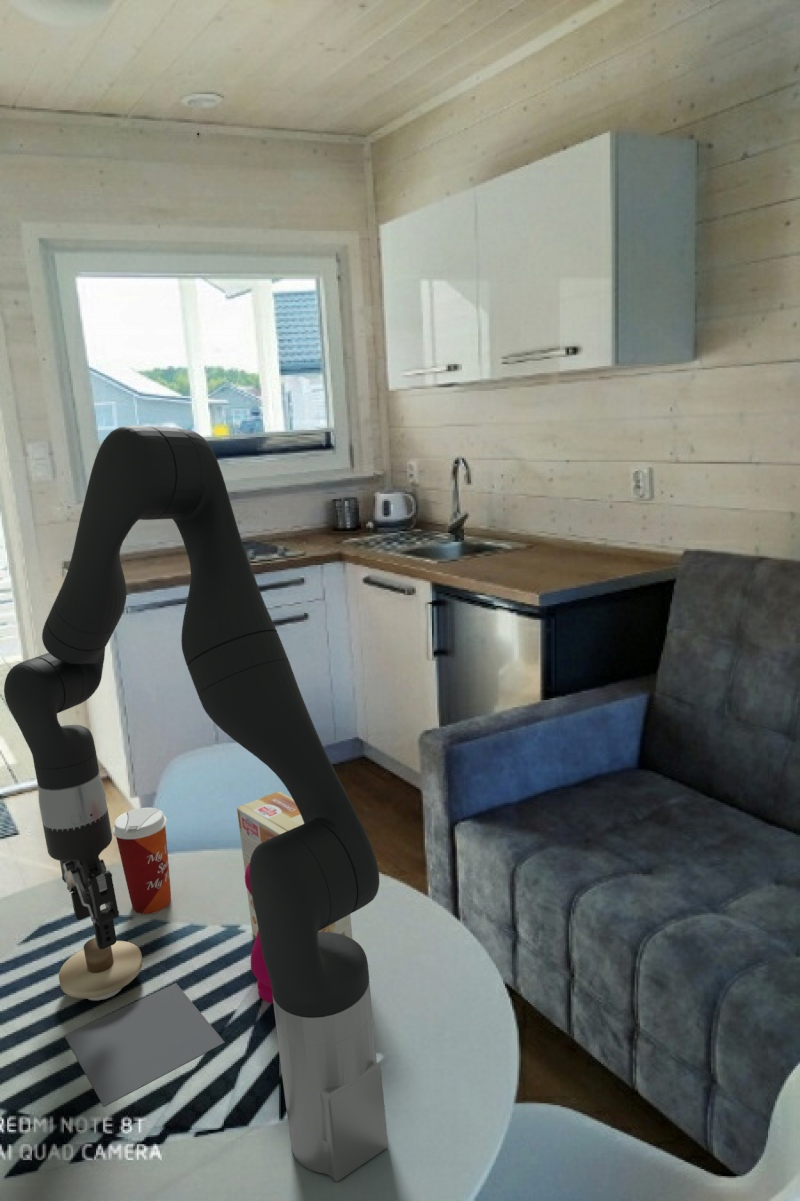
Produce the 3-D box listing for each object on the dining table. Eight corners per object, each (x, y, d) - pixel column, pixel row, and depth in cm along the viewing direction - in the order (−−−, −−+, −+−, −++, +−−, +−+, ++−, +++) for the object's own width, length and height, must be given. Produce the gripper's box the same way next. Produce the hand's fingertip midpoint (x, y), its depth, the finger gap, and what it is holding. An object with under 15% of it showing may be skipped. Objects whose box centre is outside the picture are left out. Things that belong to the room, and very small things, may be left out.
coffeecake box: (357, 961, 115) (344, 824, 110) (311, 987, 110) (296, 845, 106) (294, 915, 126) (279, 788, 121) (250, 936, 122) (234, 806, 117)
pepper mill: (319, 1000, 108) (302, 851, 103) (260, 1017, 106) (240, 866, 101) (305, 965, 114) (289, 825, 110) (250, 981, 112) (231, 838, 108)
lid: (154, 973, 111) (150, 945, 110) (74, 1010, 105) (69, 980, 104) (125, 937, 119) (121, 911, 118) (49, 970, 113) (44, 943, 112)
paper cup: (170, 917, 128) (157, 828, 124) (118, 920, 128) (103, 832, 125) (184, 887, 135) (172, 803, 132) (134, 890, 136) (121, 806, 132)
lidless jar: (76, 1004, 111) (112, 1007, 110) (72, 983, 110) (108, 986, 109) (97, 978, 115) (132, 981, 114) (94, 958, 115) (129, 961, 114)
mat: (225, 1046, 101) (224, 1042, 101) (104, 1110, 93) (103, 1106, 93) (176, 986, 112) (176, 982, 112) (64, 1039, 104) (64, 1035, 104)
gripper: (125, 820, 104) (145, 943, 107) (86, 784, 115) (106, 896, 118) (60, 843, 99) (83, 970, 103) (27, 803, 111) (48, 919, 114)
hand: (95, 930), depth 111 cm, fingers open, 8 cm apart
